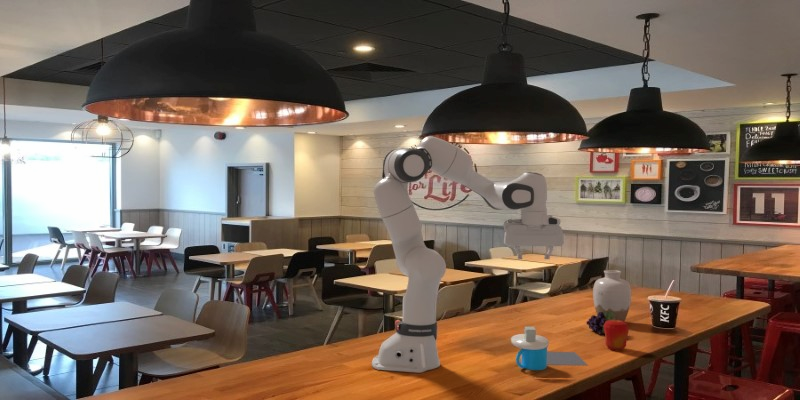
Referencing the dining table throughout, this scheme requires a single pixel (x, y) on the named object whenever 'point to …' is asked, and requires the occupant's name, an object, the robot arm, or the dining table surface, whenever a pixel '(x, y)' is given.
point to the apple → (616, 334)
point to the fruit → (600, 321)
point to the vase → (612, 295)
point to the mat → (564, 358)
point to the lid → (529, 340)
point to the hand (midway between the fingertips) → (533, 259)
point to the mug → (532, 359)
